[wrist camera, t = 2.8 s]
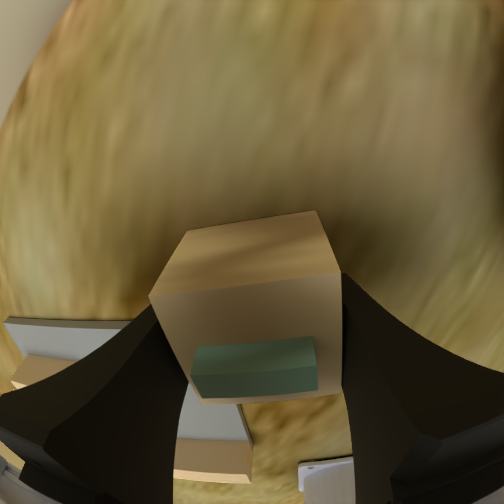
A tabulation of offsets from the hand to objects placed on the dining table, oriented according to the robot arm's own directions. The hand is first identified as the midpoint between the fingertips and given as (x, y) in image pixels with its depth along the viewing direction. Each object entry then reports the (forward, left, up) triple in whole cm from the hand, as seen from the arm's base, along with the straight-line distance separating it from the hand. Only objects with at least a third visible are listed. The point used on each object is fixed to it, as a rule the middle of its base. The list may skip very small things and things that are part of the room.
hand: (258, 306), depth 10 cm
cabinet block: (0, 0, -1) cm, 1 cm away
